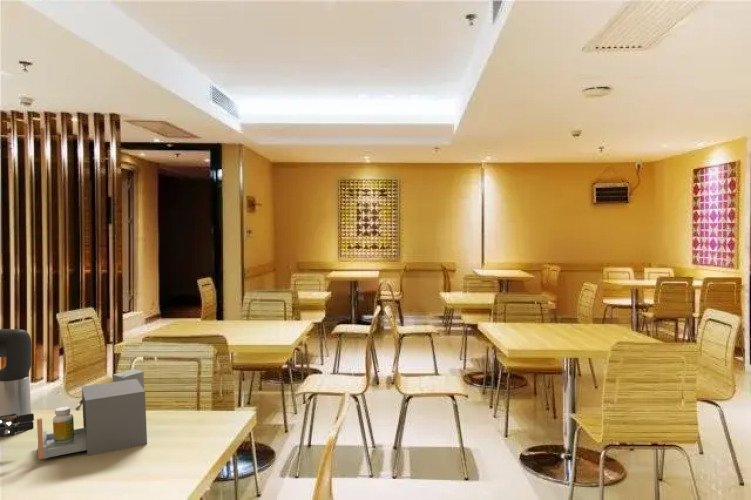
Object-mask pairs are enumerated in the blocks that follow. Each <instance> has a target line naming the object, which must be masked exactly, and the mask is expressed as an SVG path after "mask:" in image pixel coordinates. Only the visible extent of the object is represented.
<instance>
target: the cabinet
mask: <svg viewBox="0 0 751 500" xmlns="http://www.w3.org/2000/svg"><path fill="white" fill-rule="evenodd" d="M81 398H82V399H81V401H82V419H83V420H82V421H83V428H85V427H86V431H87V450H86V454H87V456H93V455H98V454H102V453H103V454H104V453H108V452H114V451H119V450H123V449H130V448H133V447H139V446H143V445H148V435H147V434H148V433H147V431H148V430H147V428H148V427H147V407H146V390H145V388H144V389H143V388H142V386H141V385H140V383H139V382H138V380H137V379H131V380H124V381H117V382H113V381H112V382H111V381H110V382H105V383H104V382H103V383H98V384H91V385H90V384H89V385H83V386H81Z"/></svg>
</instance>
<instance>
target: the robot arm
mask: <svg viewBox="0 0 751 500" xmlns="http://www.w3.org/2000/svg"><path fill="white" fill-rule="evenodd" d="M32 347H33V342H32V338H31V335H30V333H29V332H28V331H27V330H25V329H18V328H17V329H16V328H13V329H12V328H1V329H0V358H5V366H4V367H3V368H0V438H7V437H13V436H15V435H16V434H17V433H22V432H26V431H31V430H34V427H35V426H34V425H35V424H34V421H35V414H34V413H32V403H31V402H32V400H31V384H30V382H31V381H30V370H31V367H32V355H33V354H32V353H33V352H32V350H33V348H32Z"/></svg>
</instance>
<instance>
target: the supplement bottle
mask: <svg viewBox="0 0 751 500" xmlns="http://www.w3.org/2000/svg"><path fill="white" fill-rule="evenodd" d="M54 414H55V416H54V417H53V419H52V427H53V428H52V430H53V434H54V442H55V443H57V444H60V443H67V442H70V441H72V440H73V439H74V429H75V427H74V426H75V424H74V423H75V422H74V415H73V414H72V413H71V407H70V406H60V407H57V408H55V409H54Z"/></svg>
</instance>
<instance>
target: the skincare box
mask: <svg viewBox="0 0 751 500" xmlns="http://www.w3.org/2000/svg"><path fill="white" fill-rule="evenodd" d="M144 375H145V373H144V371H143V370H139V369H136V368H132V369H128V370H125V371H121V372H117V373H114V374H112V382H117V381H124V380H131V379H137V380H138V382H139V383H140V385H141V386H142V388H143V389H144V390H145V377H144Z"/></svg>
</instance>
